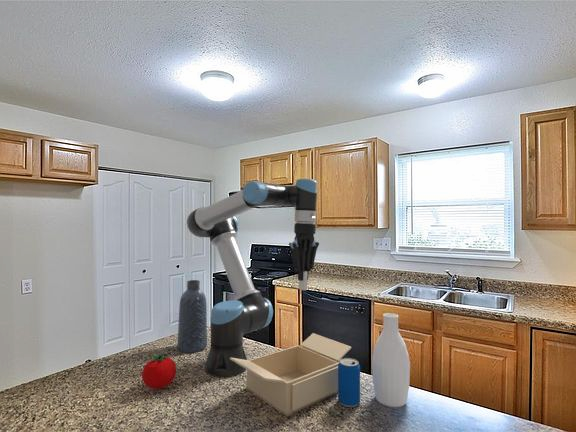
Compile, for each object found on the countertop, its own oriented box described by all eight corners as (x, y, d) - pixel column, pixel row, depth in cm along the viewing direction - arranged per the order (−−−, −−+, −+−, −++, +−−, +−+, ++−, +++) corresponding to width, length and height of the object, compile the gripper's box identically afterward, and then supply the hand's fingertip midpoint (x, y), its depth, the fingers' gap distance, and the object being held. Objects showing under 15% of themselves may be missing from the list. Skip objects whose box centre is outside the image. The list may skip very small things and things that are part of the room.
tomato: (182, 386, 108) (182, 355, 109) (150, 398, 101) (151, 365, 101) (166, 376, 115) (167, 347, 116) (135, 387, 108) (136, 355, 108)
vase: (203, 353, 137) (204, 283, 138) (173, 353, 137) (174, 283, 137) (209, 342, 149) (210, 278, 150) (182, 342, 149) (183, 278, 150)
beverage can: (360, 409, 96) (360, 367, 96) (337, 407, 97) (337, 365, 97) (359, 398, 102) (360, 358, 102) (338, 396, 103) (338, 356, 104)
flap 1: (247, 362, 106) (229, 359, 102) (248, 360, 106) (230, 357, 102) (283, 382, 93) (264, 380, 88) (284, 380, 93) (265, 378, 89)
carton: (245, 388, 108) (245, 359, 108) (296, 369, 122) (296, 344, 122) (288, 418, 91) (289, 384, 91) (342, 392, 105) (342, 363, 106)
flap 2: (338, 361, 107) (351, 347, 111) (338, 360, 107) (351, 346, 111) (300, 345, 121) (313, 334, 125) (300, 344, 121) (313, 333, 125)
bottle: (390, 413, 94) (390, 322, 94) (364, 395, 104) (364, 312, 104) (418, 404, 99) (418, 317, 100) (390, 387, 109) (390, 308, 109)
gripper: (299, 222, 112) (296, 293, 112) (325, 223, 120) (323, 289, 120) (284, 222, 117) (281, 289, 117) (310, 222, 126) (308, 285, 126)
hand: (302, 289), depth 119 cm, fingers closed
